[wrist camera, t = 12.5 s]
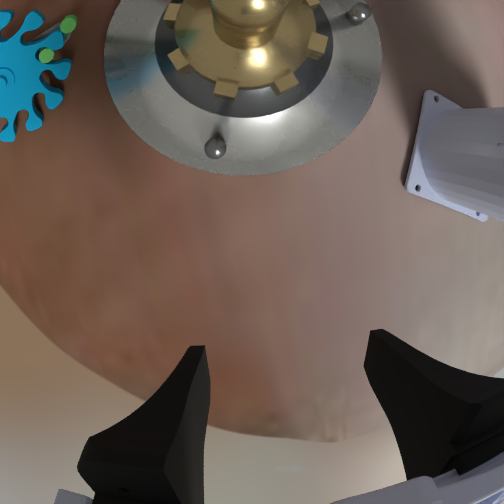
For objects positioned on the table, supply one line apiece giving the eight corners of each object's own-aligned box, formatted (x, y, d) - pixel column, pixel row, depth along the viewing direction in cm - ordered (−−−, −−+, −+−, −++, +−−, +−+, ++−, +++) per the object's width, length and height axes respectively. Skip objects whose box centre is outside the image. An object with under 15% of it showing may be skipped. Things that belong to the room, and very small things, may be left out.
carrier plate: (388, -15, 15) (402, -27, 12) (345, 202, 20) (359, 209, 18) (154, -63, 12) (147, -79, 10) (84, 151, 18) (67, 153, 16)
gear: (-10, 171, 16) (-84, 86, 7) (3, 129, 19) (-54, 54, 10) (109, 87, 17) (47, -32, 8) (106, 59, 19) (60, -35, 10)
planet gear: (333, -4, 14) (370, -50, 8) (302, 119, 17) (336, 106, 11) (193, -34, 13) (180, -90, 7) (149, 86, 16) (110, 60, 10)
